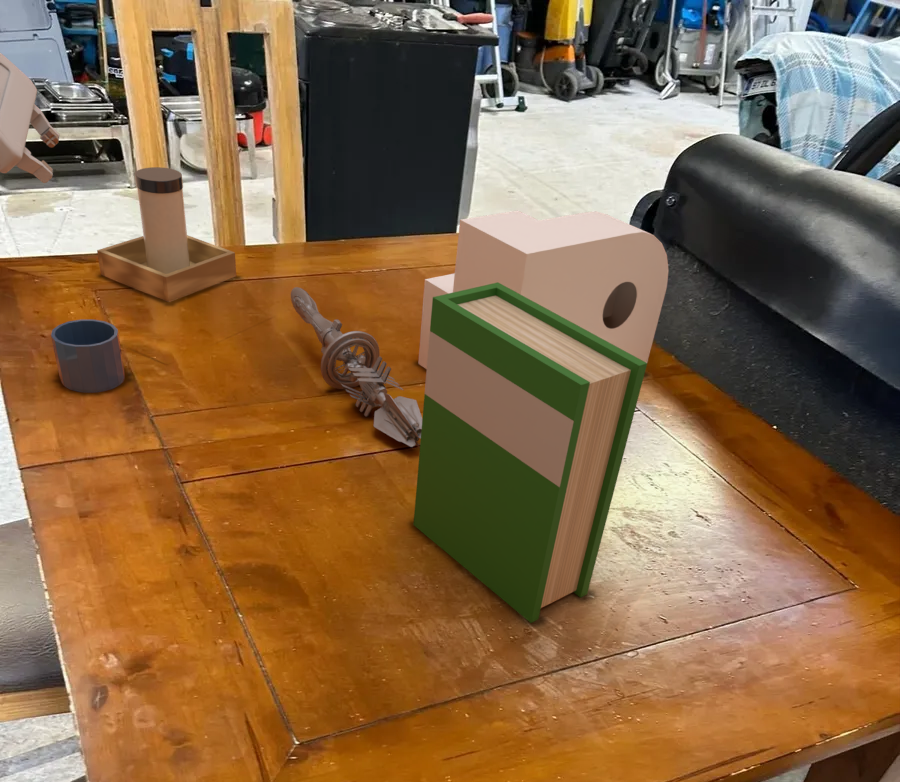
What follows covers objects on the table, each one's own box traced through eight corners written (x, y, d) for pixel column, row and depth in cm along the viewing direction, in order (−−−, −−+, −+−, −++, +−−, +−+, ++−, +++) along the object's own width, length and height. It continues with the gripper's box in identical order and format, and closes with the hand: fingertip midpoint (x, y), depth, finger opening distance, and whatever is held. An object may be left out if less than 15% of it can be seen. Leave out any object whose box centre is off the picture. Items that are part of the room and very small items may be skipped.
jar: (138, 274, 130) (124, 172, 120) (170, 263, 134) (159, 164, 125) (169, 287, 127) (157, 184, 118) (200, 275, 131) (191, 175, 122)
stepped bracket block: (558, 328, 131) (585, 181, 118) (643, 376, 122) (683, 223, 108) (418, 364, 118) (430, 204, 104) (501, 422, 108) (526, 253, 95)
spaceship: (327, 270, 118) (276, 255, 113) (461, 417, 99) (407, 406, 94) (305, 323, 122) (254, 310, 117) (429, 474, 103) (376, 467, 98)
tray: (101, 278, 129) (96, 250, 126) (170, 254, 138) (168, 228, 135) (169, 306, 124) (166, 277, 121) (236, 279, 133) (235, 252, 130)
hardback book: (586, 596, 84) (647, 363, 69) (530, 624, 81) (581, 385, 65) (468, 504, 94) (497, 282, 78) (413, 526, 90) (432, 297, 75)
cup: (48, 380, 105) (37, 332, 101) (96, 360, 110) (88, 313, 106) (90, 400, 103) (80, 352, 99) (137, 379, 108) (131, 332, 104)
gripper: (-48, 49, 114) (44, 136, 125) (-76, 123, 102) (28, 213, 112) (-16, 17, 112) (75, 108, 122) (-41, 89, 100) (62, 184, 110)
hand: (53, 159), depth 117 cm, fingers open, 8 cm apart
